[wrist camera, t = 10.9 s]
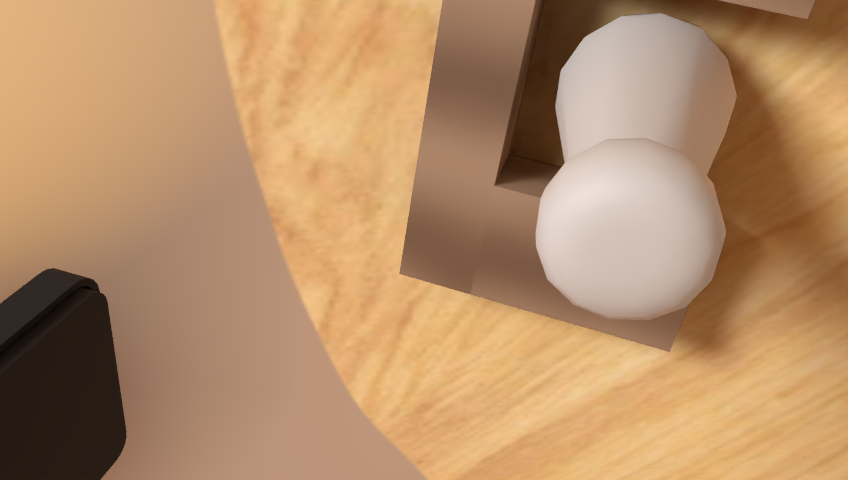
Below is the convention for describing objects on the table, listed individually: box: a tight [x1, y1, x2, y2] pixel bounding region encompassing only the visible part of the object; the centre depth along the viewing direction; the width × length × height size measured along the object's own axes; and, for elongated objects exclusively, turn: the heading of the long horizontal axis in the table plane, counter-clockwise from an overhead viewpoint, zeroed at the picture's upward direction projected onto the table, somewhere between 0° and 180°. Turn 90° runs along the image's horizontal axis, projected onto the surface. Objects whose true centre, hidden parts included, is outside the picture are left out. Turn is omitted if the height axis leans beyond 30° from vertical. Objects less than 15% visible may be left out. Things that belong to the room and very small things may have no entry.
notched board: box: [400, 0, 815, 352], centre depth 27 cm, size 18×11×3 cm, turn 172°
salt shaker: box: [535, 13, 737, 320], centre depth 23 cm, size 6×6×13 cm
